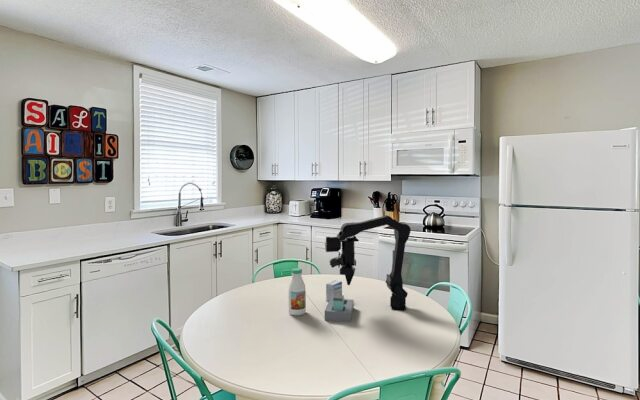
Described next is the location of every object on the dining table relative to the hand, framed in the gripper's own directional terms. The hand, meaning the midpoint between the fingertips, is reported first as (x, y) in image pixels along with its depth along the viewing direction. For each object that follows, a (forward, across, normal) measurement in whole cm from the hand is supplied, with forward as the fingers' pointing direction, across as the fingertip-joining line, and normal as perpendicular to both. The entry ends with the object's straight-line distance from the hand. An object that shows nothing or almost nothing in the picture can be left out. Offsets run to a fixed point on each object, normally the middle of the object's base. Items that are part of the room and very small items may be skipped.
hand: (348, 284), depth 164 cm
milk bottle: (+12, +7, -23) cm, 26 cm away
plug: (+12, +10, -4) cm, 15 cm away
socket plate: (+12, +6, -4) cm, 13 cm away
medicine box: (+12, -13, -8) cm, 19 cm away
